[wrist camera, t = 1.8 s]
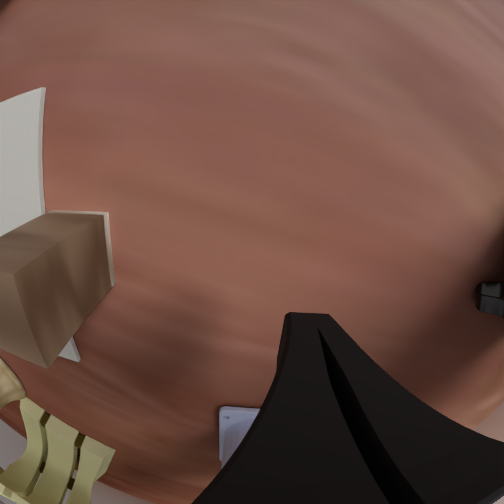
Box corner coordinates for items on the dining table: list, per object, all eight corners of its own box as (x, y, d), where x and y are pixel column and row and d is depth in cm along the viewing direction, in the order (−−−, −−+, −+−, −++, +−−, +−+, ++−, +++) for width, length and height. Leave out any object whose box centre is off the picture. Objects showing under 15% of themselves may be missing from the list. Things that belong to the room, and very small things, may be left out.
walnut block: (115, 283, 14) (48, 369, 8) (61, 274, 14) (-10, 343, 8) (108, 212, 13) (13, 274, 6) (51, 210, 13) (-40, 261, 6)
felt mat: (80, 358, 17) (78, 362, 16) (1, 329, 17) (-2, 332, 16) (46, 87, 10) (41, 87, 9) (-35, 120, 10) (-39, 121, 9)
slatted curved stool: (-6, 405, 24) (-46, 475, 8) (-26, 351, 19) (-90, 440, 2) (153, 495, 29) (137, 579, 13) (184, 475, 24) (165, 597, 8)
